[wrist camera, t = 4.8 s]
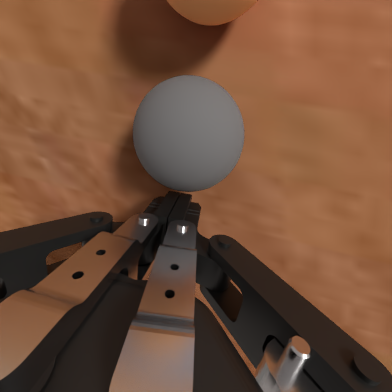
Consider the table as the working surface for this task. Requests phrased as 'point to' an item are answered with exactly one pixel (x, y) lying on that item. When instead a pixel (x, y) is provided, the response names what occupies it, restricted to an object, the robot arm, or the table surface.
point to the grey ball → (188, 133)
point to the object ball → (211, 10)
